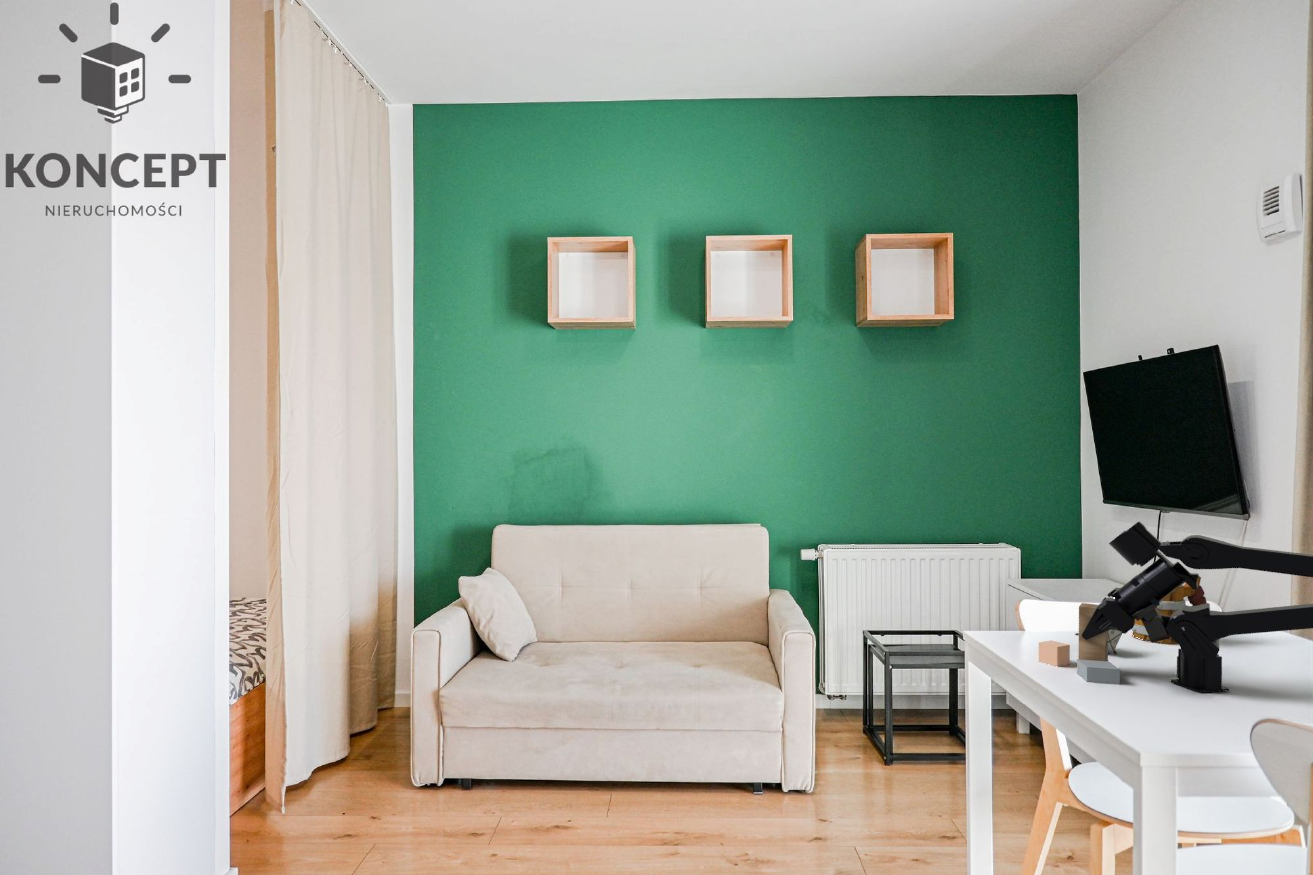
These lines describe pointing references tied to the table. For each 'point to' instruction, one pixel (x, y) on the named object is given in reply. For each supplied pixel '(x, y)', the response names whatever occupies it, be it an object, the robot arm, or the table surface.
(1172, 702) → the table surface
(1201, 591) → the mug
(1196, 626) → the robot arm
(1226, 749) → the table surface
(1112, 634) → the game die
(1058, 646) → the clay block
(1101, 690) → the table surface
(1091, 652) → the walnut block
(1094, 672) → the slate block
